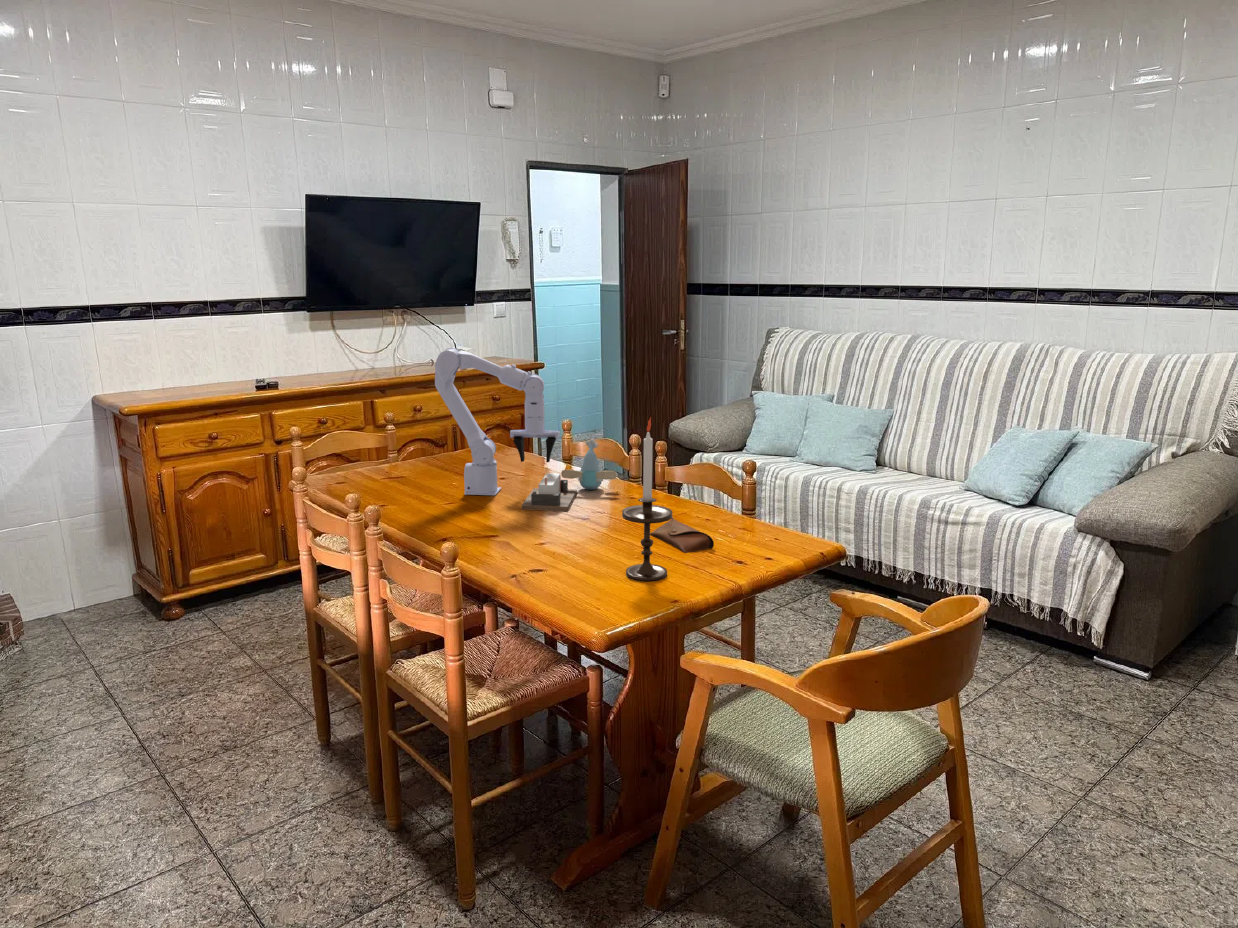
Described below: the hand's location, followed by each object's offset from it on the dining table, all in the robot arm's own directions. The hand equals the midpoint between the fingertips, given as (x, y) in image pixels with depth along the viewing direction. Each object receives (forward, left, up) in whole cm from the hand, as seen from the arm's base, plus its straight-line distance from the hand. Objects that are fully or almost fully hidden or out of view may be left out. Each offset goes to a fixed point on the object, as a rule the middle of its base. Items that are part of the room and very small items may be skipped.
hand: (535, 461), depth 256 cm
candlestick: (+37, -68, -10) cm, 78 cm away
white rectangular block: (+6, -10, -8) cm, 15 cm away
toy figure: (+16, +5, -10) cm, 19 cm away
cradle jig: (+6, -10, -9) cm, 15 cm away
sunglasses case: (+44, -43, -10) cm, 62 cm away
